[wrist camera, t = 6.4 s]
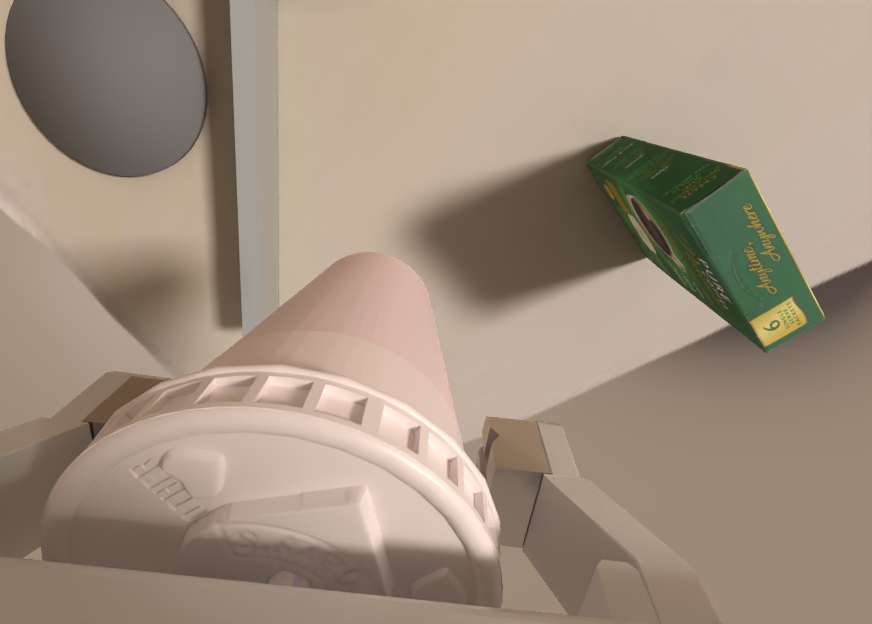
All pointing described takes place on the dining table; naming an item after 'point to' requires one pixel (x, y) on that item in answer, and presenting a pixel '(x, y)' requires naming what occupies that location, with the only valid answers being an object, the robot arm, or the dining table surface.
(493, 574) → the smoothie
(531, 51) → the dining table surface
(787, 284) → the coffee box
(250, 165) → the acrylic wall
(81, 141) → the pad
